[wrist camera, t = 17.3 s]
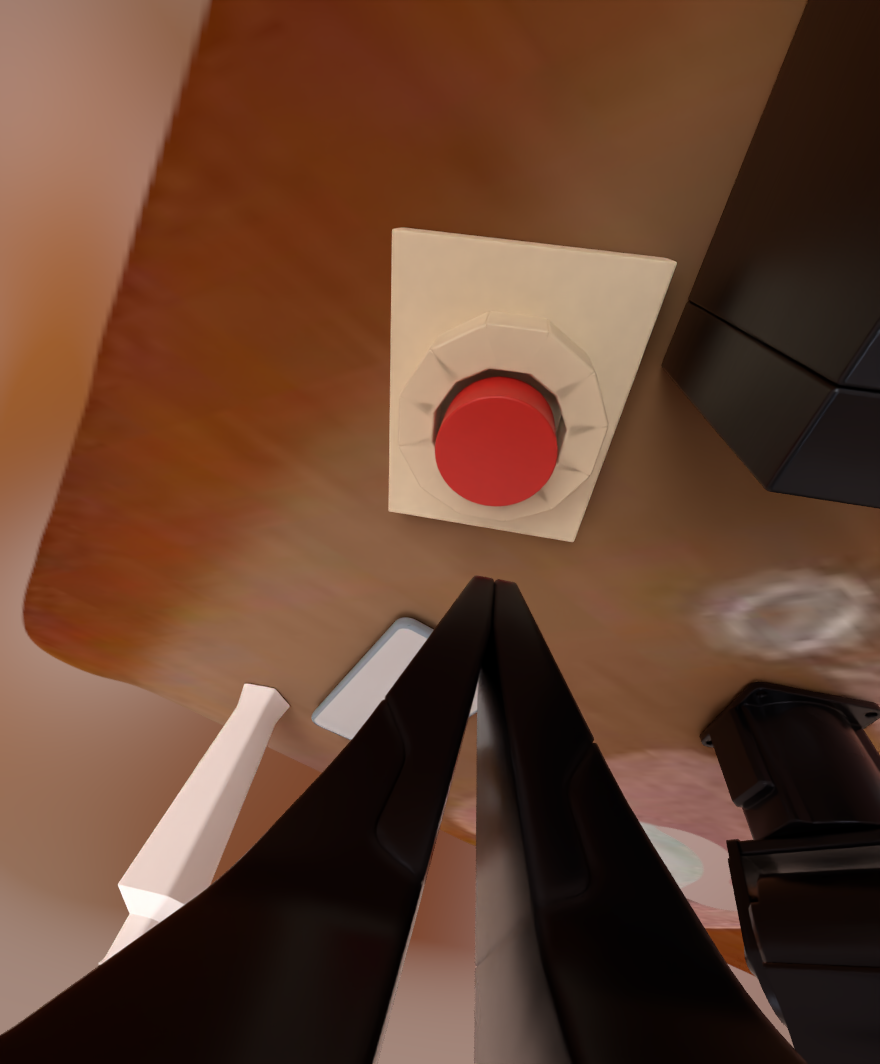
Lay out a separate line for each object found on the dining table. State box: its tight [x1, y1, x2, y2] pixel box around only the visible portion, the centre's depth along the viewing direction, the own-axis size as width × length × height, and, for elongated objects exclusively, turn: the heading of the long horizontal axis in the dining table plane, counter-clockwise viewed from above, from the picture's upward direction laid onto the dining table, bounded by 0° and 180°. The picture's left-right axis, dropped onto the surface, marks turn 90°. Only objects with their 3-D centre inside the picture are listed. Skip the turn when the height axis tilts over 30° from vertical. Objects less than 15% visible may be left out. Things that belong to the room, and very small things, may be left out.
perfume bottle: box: [99, 684, 290, 965], centre depth 27 cm, size 5×4×15 cm
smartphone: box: [312, 617, 478, 740], centre depth 29 cm, size 8×1×15 cm
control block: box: [389, 227, 677, 542], centre depth 15 cm, size 10×8×3 cm
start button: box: [435, 376, 558, 506], centre depth 13 cm, size 4×4×2 cm
